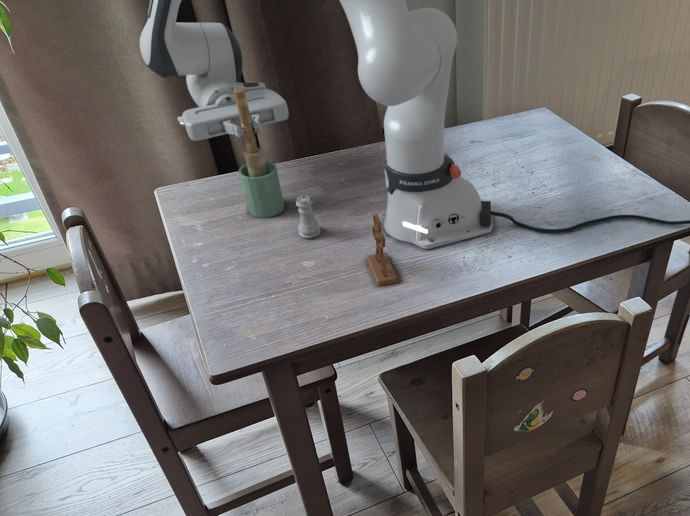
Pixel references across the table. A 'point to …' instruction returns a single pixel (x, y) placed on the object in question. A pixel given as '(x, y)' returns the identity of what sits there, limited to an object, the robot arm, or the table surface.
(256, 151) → the bottle brush
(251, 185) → the green pen holder
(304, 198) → the rook chess piece
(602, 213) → the table surface
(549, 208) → the table surface
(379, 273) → the wooden figure on stand
